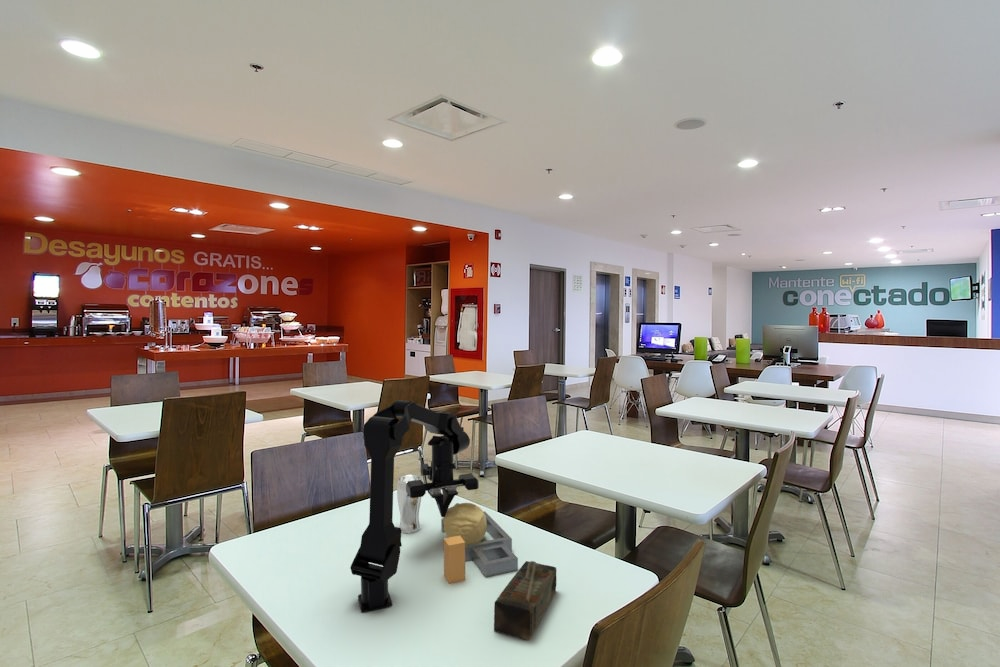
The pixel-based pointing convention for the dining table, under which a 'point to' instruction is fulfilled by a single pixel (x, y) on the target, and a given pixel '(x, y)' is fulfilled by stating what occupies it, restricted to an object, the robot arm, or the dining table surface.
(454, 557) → the orange rectangular block
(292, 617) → the dining table surface
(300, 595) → the dining table surface
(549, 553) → the dining table surface
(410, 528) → the beer glass
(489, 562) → the grey flat openwork piece
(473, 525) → the sculpture
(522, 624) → the beverage carton
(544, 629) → the dining table surface
